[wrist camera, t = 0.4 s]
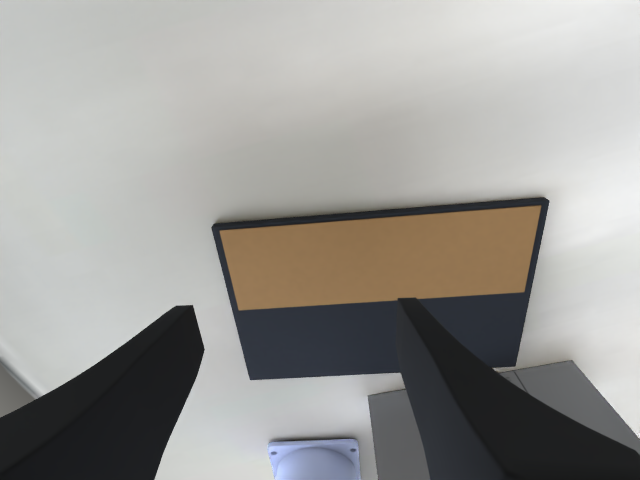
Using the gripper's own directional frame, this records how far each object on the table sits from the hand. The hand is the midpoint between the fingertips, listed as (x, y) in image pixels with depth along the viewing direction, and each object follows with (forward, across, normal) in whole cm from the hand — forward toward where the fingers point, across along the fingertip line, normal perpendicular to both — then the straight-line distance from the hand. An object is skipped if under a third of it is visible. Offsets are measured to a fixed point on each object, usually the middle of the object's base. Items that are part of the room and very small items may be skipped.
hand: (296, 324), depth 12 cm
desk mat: (+10, -4, +6) cm, 13 cm away
